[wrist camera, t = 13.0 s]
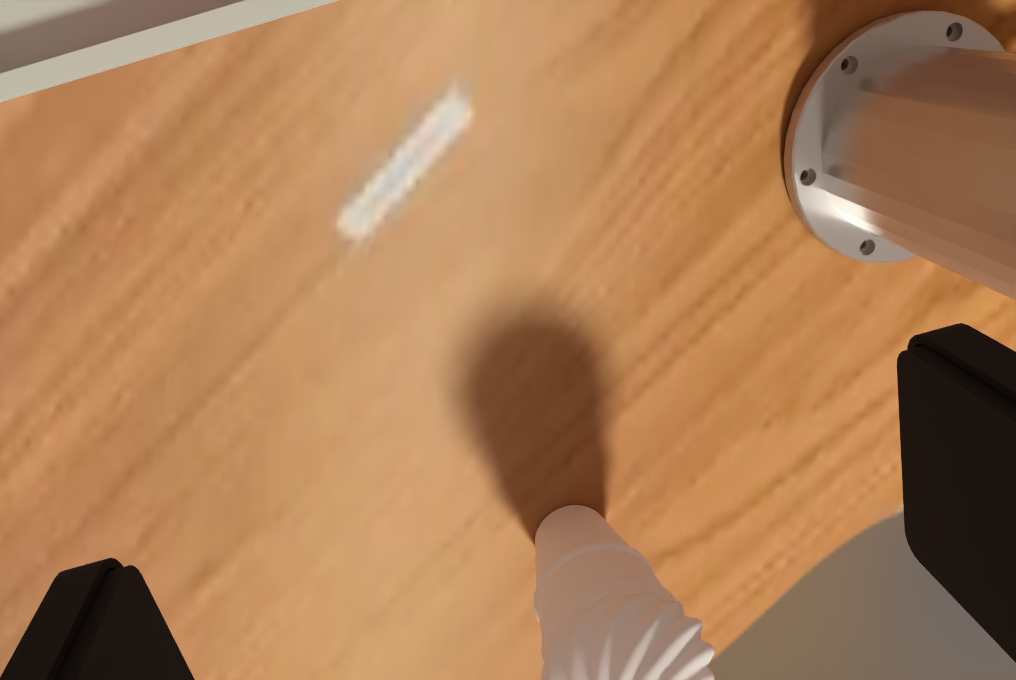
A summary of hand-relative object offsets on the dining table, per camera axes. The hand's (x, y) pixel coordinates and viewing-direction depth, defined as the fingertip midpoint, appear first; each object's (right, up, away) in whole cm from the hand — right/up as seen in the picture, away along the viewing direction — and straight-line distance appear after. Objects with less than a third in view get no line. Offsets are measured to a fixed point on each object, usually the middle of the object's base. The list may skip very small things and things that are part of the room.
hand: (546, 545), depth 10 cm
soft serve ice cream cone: (+3, -9, +40) cm, 41 cm away
